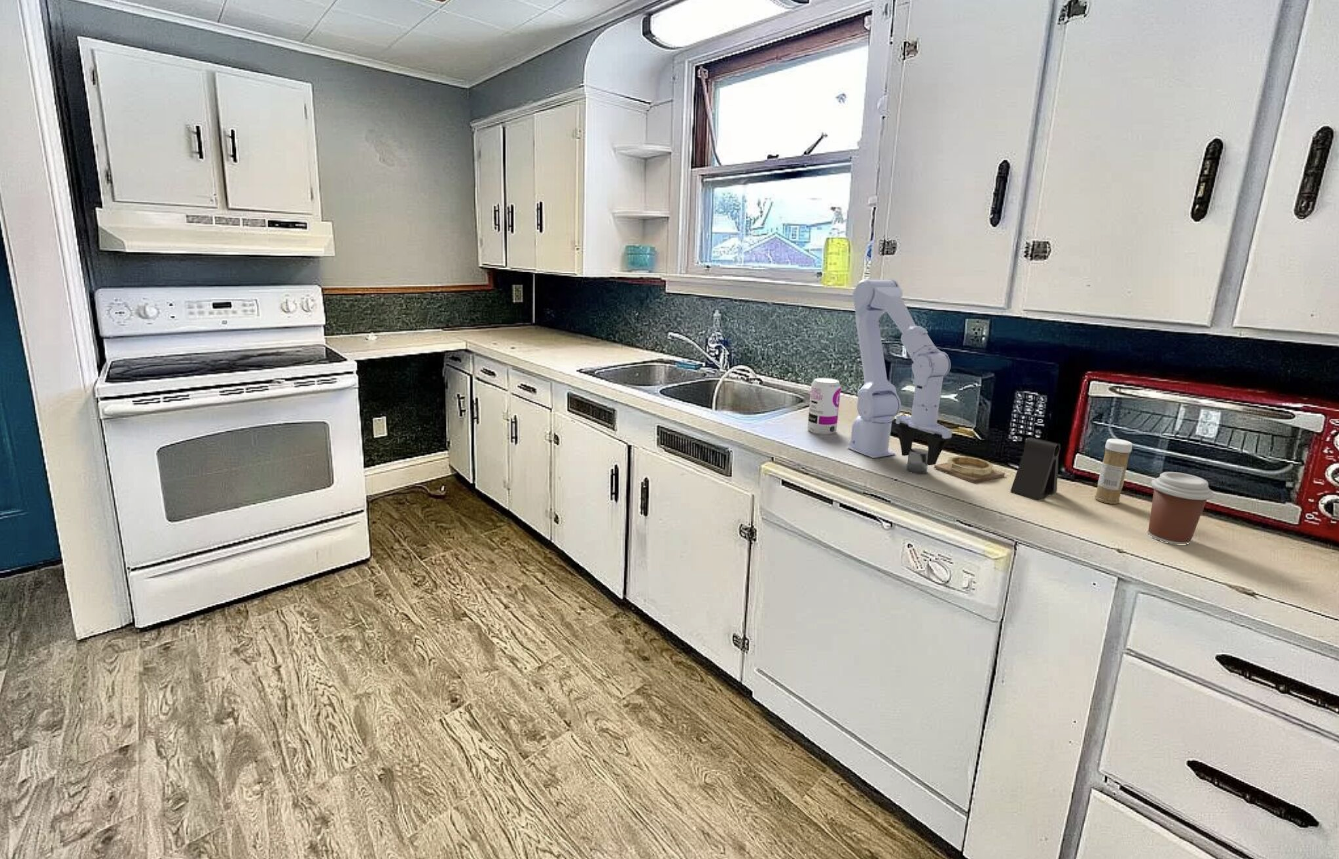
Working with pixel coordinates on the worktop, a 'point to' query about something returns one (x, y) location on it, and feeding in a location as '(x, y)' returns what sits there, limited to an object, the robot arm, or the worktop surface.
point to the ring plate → (969, 478)
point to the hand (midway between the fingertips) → (918, 459)
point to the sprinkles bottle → (1113, 470)
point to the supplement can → (824, 406)
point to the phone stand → (1037, 469)
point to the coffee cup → (1177, 506)
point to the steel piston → (917, 461)
